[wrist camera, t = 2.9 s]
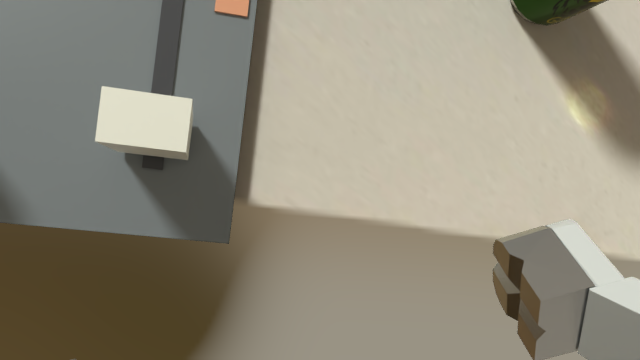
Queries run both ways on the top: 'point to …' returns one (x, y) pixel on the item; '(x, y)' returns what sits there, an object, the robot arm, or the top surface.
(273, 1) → the top surface
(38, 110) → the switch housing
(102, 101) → the switch tab
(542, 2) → the guarana soda can
